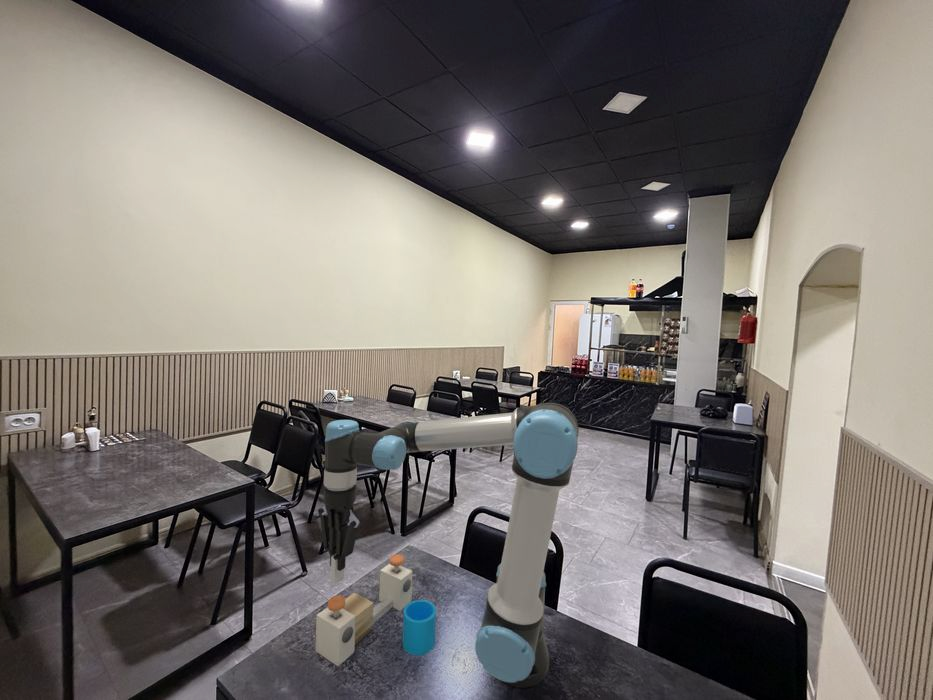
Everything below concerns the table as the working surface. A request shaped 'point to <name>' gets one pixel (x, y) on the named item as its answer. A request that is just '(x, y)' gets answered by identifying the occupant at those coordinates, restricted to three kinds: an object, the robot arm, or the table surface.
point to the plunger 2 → (396, 562)
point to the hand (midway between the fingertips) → (336, 580)
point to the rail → (382, 609)
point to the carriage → (360, 614)
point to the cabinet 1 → (335, 635)
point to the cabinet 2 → (396, 586)
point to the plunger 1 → (336, 605)
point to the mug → (419, 627)
